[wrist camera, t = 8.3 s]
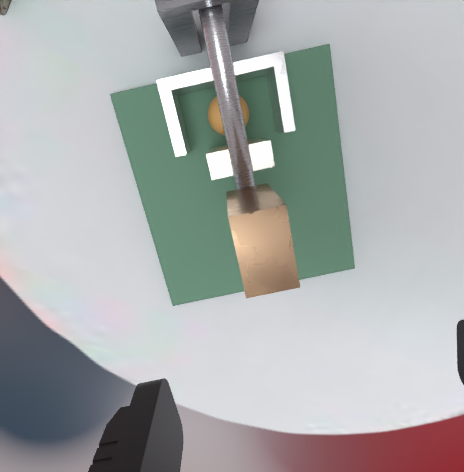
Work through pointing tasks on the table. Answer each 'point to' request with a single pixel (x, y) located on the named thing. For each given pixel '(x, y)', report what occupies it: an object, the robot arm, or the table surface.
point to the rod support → (184, 29)
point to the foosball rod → (247, 179)
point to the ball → (215, 115)
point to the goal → (243, 70)
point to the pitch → (214, 191)
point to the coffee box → (4, 6)
